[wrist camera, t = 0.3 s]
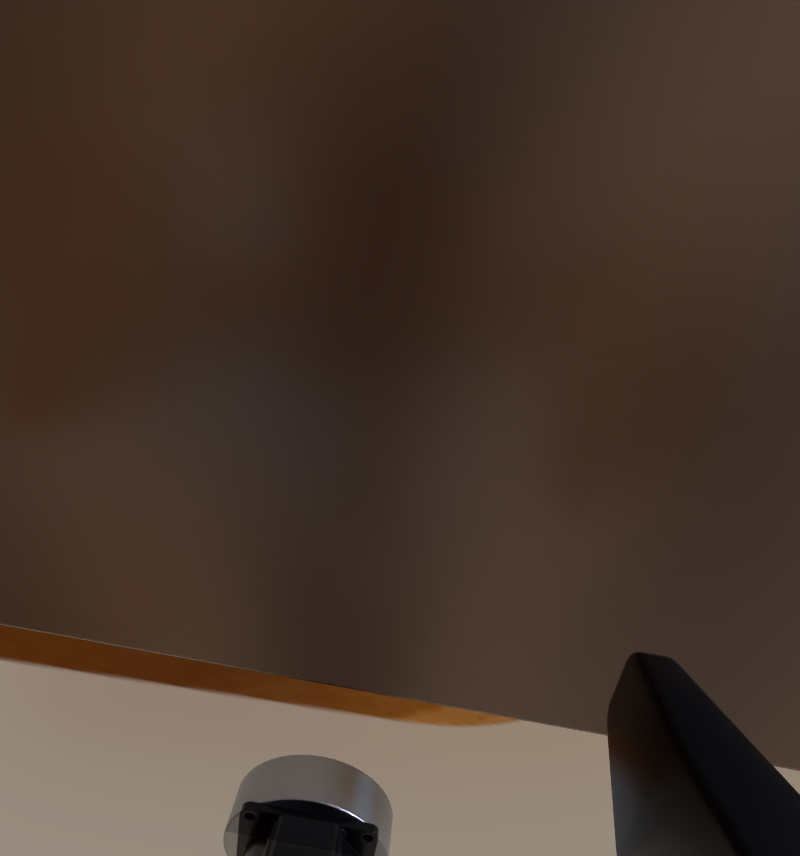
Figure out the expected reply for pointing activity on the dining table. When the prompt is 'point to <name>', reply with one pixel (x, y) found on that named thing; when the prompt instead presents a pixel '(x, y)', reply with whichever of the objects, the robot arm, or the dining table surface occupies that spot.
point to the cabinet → (409, 343)
